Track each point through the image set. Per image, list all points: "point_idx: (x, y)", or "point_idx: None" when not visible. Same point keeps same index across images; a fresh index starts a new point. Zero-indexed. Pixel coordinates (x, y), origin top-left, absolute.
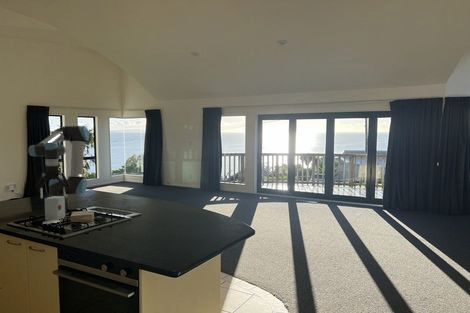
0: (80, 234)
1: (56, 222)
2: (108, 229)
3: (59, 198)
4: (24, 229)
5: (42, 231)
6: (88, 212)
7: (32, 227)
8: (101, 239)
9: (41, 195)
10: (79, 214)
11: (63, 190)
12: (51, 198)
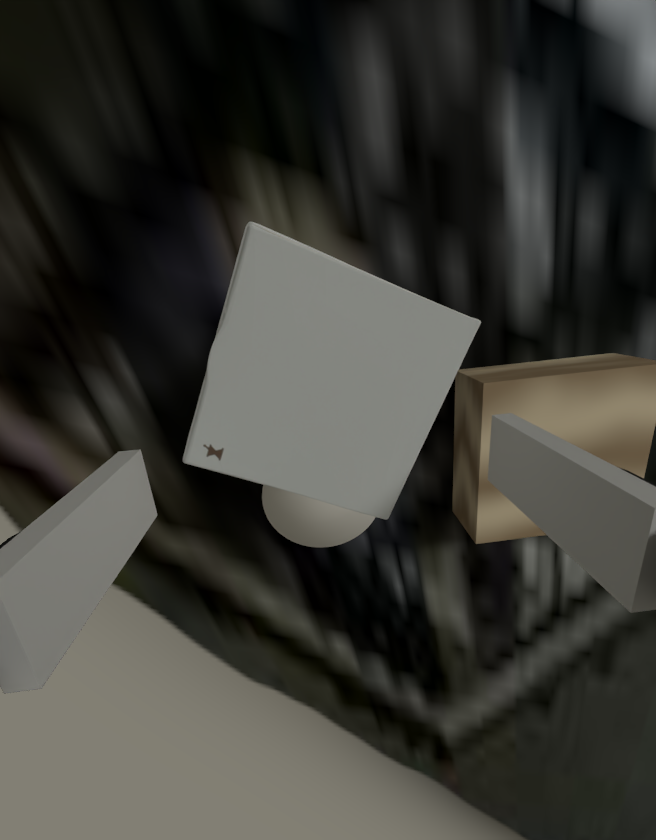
0: (516, 714)
1: (365, 526)
2: (644, 666)
3: (414, 458)
4: (192, 593)
5: (320, 647)
6: (614, 446)
7: (223, 559)
8: (593, 775)
9: (129, 547)
10: None
11: (567, 553)
12: (304, 494)
